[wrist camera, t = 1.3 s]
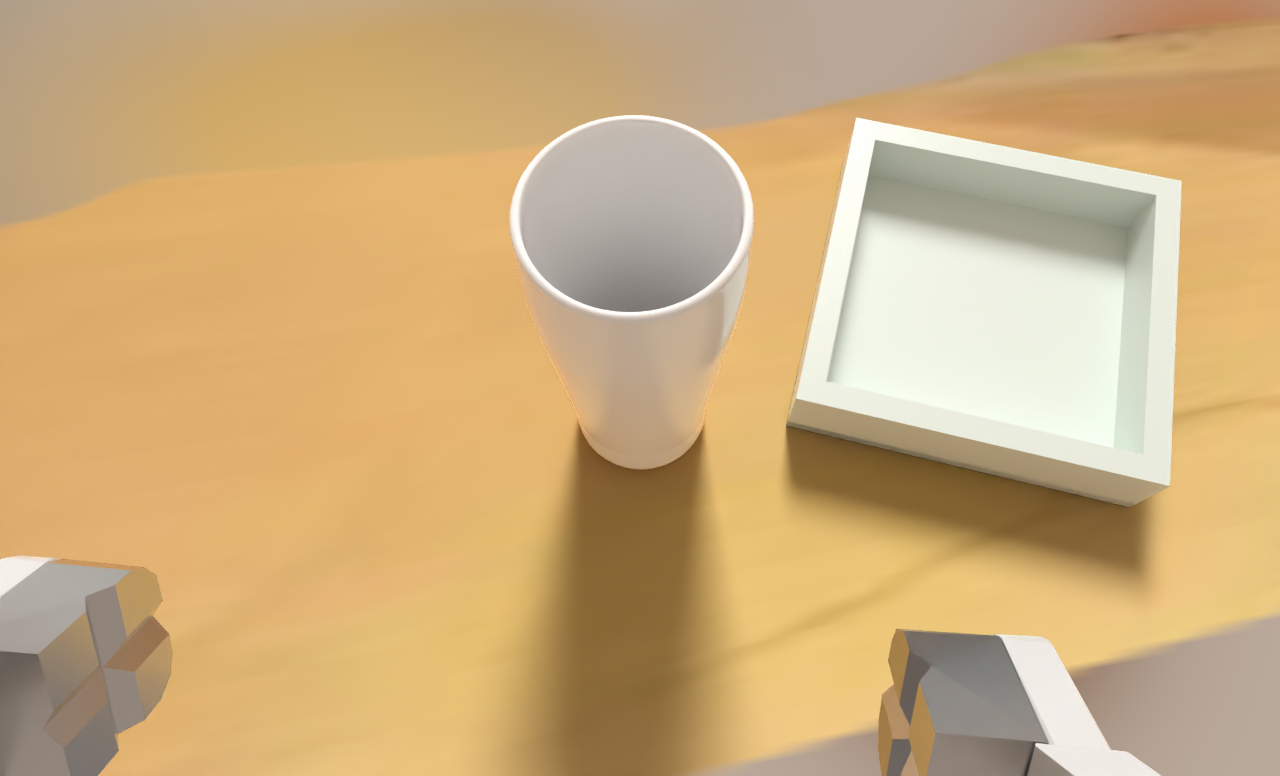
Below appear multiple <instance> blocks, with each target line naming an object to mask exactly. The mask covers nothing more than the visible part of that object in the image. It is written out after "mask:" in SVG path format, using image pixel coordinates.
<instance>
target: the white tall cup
mask: <svg viewBox="0 0 1280 776" xmlns="http://www.w3.org/2000/svg"><path fill="white" fill-rule="evenodd" d="M509 226H510V236H511V241H512V246H513V251H514V256H515V261H516V267H517V271H518V276H519V280H520V284H521V288H522V292H523V295H524V298H525V301H526V305H527V308H528V311H529V314H530V317H531V319H532V322H533V324H534V327H535V329H536V331H537V334H538V336H539V338H540V340H541V342H542V345H543V347H544V349H545V351H546V353H547V355H548V357H549V359H550V361H551V363H552V365H553V367H554V369H555V371H556V373H557V375H558V377H559V379H560V381H561V383H562V385H563V387H564V389H565V391H566V393H567V395H568V397H569V399H570V401H571V403H572V405H573V407H574V409H575V412H576V414H577V418H578V422H579V425H580V428H581V430H582V433H583V435H584V437H585V438H586V440H587V442H588V443H589V444H590V446H591V447H592V448H593V449H594V450H595V451H596V452H597V453H598V454H599V455H600V456H602V457H603V458H605V459H606V460H608V461H610V462H612V463H614V464H616V465H619V466H621V467H625V468H630V469H652V468H657V467H661V466H664V465H666V464H669V463H671V462H673V461H674V460H676V459H678V458H679V457H681V456H682V455H683V454H684V453H686V452H687V451H688V450H689V449H690V447H691V446H692V445H693V444H694V442H695V441H696V439H697V438H698V436H699V434H700V432H701V429H702V427H703V424H704V420H705V414H706V407H707V404H708V402H709V399H710V396H711V393H712V390H713V388H714V385H715V382H716V379H717V377H718V374H719V371H720V369H721V366H722V363H723V361H724V358H725V355H726V353H727V350H728V347H729V345H730V342H731V340H732V337H733V334H734V331H735V328H736V326H737V323H738V319H739V316H740V312H741V309H742V305H743V301H744V297H745V292H746V287H747V281H748V275H749V268H750V261H751V252H752V239H753V229H754V208H753V202H752V197H751V193H750V190H749V187H748V185H747V182H746V180H745V178H744V176H743V174H742V172H741V171H740V169H739V167H738V166H737V165H736V163H735V162H734V160H733V159H732V158H731V157H730V156H729V155H728V154H727V152H726V151H725V150H724V149H722V148H721V147H720V146H719V145H718V144H717V143H715V142H714V141H713V140H711V139H710V138H709V137H707V136H706V135H704V134H702V133H701V132H699V131H697V130H695V129H693V128H691V127H689V126H686V125H684V124H681V123H678V122H675V121H672V120H668V119H663V118H658V117H652V116H640V115H629V116H616V117H610V118H604V119H599V120H596V121H592V122H589V123H586V124H584V125H581V126H579V127H576V128H574V129H572V130H570V131H568V132H566V133H565V134H563V135H561V136H559V137H558V138H557V139H555V140H554V141H552V142H551V143H550V144H548V145H547V146H546V147H545V148H544V149H543V150H542V151H541V152H540V153H539V154H538V155H537V156H536V157H535V158H534V159H533V160H532V161H531V163H530V164H529V165H528V167H527V168H526V170H525V171H524V173H523V174H522V176H521V178H520V180H519V182H518V184H517V187H516V189H515V192H514V195H513V199H512V202H511V208H510V219H509Z"/></svg>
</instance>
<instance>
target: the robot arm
mask: <svg viewBox="0 0 1280 776" xmlns="http://www.w3.org/2000/svg"><path fill="white" fill-rule="evenodd" d="M162 601H163V600H162V596H161V592H160V588H159V584H158V580H157V576H156V575H155V574H154V573H152V572H151V571H149V570H148V569H146V568H144V567H136V566H127V565H117V564H107V563H98V562H88V561H78V560H68V559H55V558H46V557H34V556H21V555H20V556H14V557H8V558H3V559H1V560H0V776H98V775H99V773H100V772H101V771H102V770H103V769H104V768H105V766H106V765H107V764H108V763H109V762H110V760H111V759H112V758H113V757H114V756H115V755H116V753H117V752H118V751H119V747H118V734H119V733H121V732H123V731H124V730H126V729H128V728H130V727H132V726H134V725H136V724H138V723H140V722H141V721H143V720H145V719H146V718H147V716H148V715H149V714H150V713H151V711H152V710H153V709H154V708H155V706H156V705H157V704H158V703H159V701H160V700H161V698H162V695H163V693H164V690H165V688H166V685H167V683H168V680H169V677H170V675H171V666H172V647H171V641H170V636H169V633H168V632H167V631H166V630H165V629H164V628H163V627H162V626H161V625H160V623H159V622H158V621H157V620H156V619H155V618H154V617H153V615H154V613H155V611H156V610H157V608H158V607H159V605H160V604H161V602H162ZM888 662H889V666H890V670H891V673H892V677H893V681H894V685H893V686H891V687H890V688H889V689H888V690H887V691H886V692H885V693H884V694H882V700H881V707H880V714H879V727H878V751H879V760H880V769H881V773H882V776H1161V775H1159V774H1158V773H1157V772H1155V771H1154V770H1152V769H1151V768H1149V767H1148V766H1147V765H1145V764H1144V763H1142V762H1141V761H1139V760H1138V759H1137V758H1135V757H1134V756H1132V755H1131V754H1129V753H1128V752H1125V751H1115V750H1111V749H1110V747H1109V745H1108V744H1107V742H1106V740H1105V738H1104V737H1103V735H1102V733H1101V731H1100V729H1099V728H1098V726H1097V724H1096V722H1095V720H1094V719H1093V717H1092V715H1091V713H1090V712H1089V710H1088V708H1087V706H1086V704H1085V702H1084V701H1083V699H1082V697H1081V695H1080V694H1079V692H1078V690H1077V688H1076V686H1075V685H1074V683H1073V681H1072V679H1071V677H1070V676H1069V674H1068V672H1067V670H1066V668H1065V667H1064V665H1063V663H1062V661H1061V659H1060V658H1059V656H1058V654H1057V652H1056V651H1055V649H1054V647H1053V645H1052V643H1051V642H1050V641H1048V640H1047V639H1045V638H1044V637H1040V636H1020V635H1000V634H994V635H979V634H964V633H950V632H936V631H922V630H908V629H896V631H895V634H894V636H893V639H892V643H891V648H890V653H889V659H888Z"/></svg>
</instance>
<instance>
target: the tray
mask: <svg viewBox="0 0 1280 776" xmlns="http://www.w3.org/2000/svg"><path fill="white" fill-rule="evenodd" d="M1181 183H1182V181H1179V180H1174V179H1169V178H1164V177H1159V176H1154V175H1149V174H1143V173H1138V172H1133V171H1128V170H1123V169H1118V168H1113V167H1108V166H1102V165H1097V164H1092V163H1087V162H1082V161H1077V160H1072V159H1066V158H1061V157H1056V156H1051V155H1046V154H1041V153H1036V152H1030V151H1025V150H1020V149H1015V148H1010V147H1005V146H1000V145H995V144H989V143H984V142H979V141H974V140H969V139H964V138H959V137H953V136H948V135H943V134H938V133H933V132H928V131H923V130H917V129H912V128H907V127H902V126H897V125H892V124H887V123H881V122H876V121H871V120H866V119H861V118H856V121H855V124H854V127H853V130H852V134H851V137H850V140H849V143H848V147H847V150H846V153H845V157H844V160H843V165H842V169H841V174H840V178H839V183H838V188H837V192H836V197H835V201H834V206H833V211H832V215H831V220H830V225H829V229H828V234H827V238H826V243H825V248H824V252H823V257H822V262H821V266H820V271H819V275H818V280H817V285H816V289H815V294H814V298H813V303H812V308H811V312H810V317H809V322H808V326H807V331H806V335H805V340H804V345H803V349H802V354H801V359H800V363H799V368H798V372H797V377H796V382H795V386H794V391H793V395H792V400H791V405H790V409H789V414H788V419H787V423H786V426H790V427H795V428H799V429H803V430H807V431H811V432H816V433H820V434H824V435H828V436H832V437H837V438H841V439H845V440H849V441H853V442H858V443H862V444H866V445H870V446H874V447H879V448H883V449H887V450H891V451H895V452H900V453H904V454H908V455H912V456H916V457H921V458H925V459H929V460H933V461H937V462H942V463H946V464H950V465H954V466H958V467H963V468H967V469H971V470H975V471H979V472H984V473H988V474H992V475H996V476H1000V477H1004V478H1009V479H1013V480H1017V481H1021V482H1025V483H1030V484H1034V485H1038V486H1042V487H1046V488H1051V489H1055V490H1059V491H1063V492H1067V493H1072V494H1076V495H1080V496H1084V497H1088V498H1093V499H1097V500H1101V501H1105V502H1109V503H1114V504H1118V505H1122V506H1126V507H1132V506H1134V505H1136V504H1137V503H1139V502H1141V501H1143V500H1145V499H1147V498H1148V497H1150V496H1152V495H1154V494H1156V493H1158V492H1160V491H1161V490H1163V489H1165V488H1167V487H1169V486H1170V468H1171V442H1172V416H1173V391H1174V365H1175V339H1176V313H1177V287H1178V261H1179V235H1180V209H1181Z"/></svg>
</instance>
